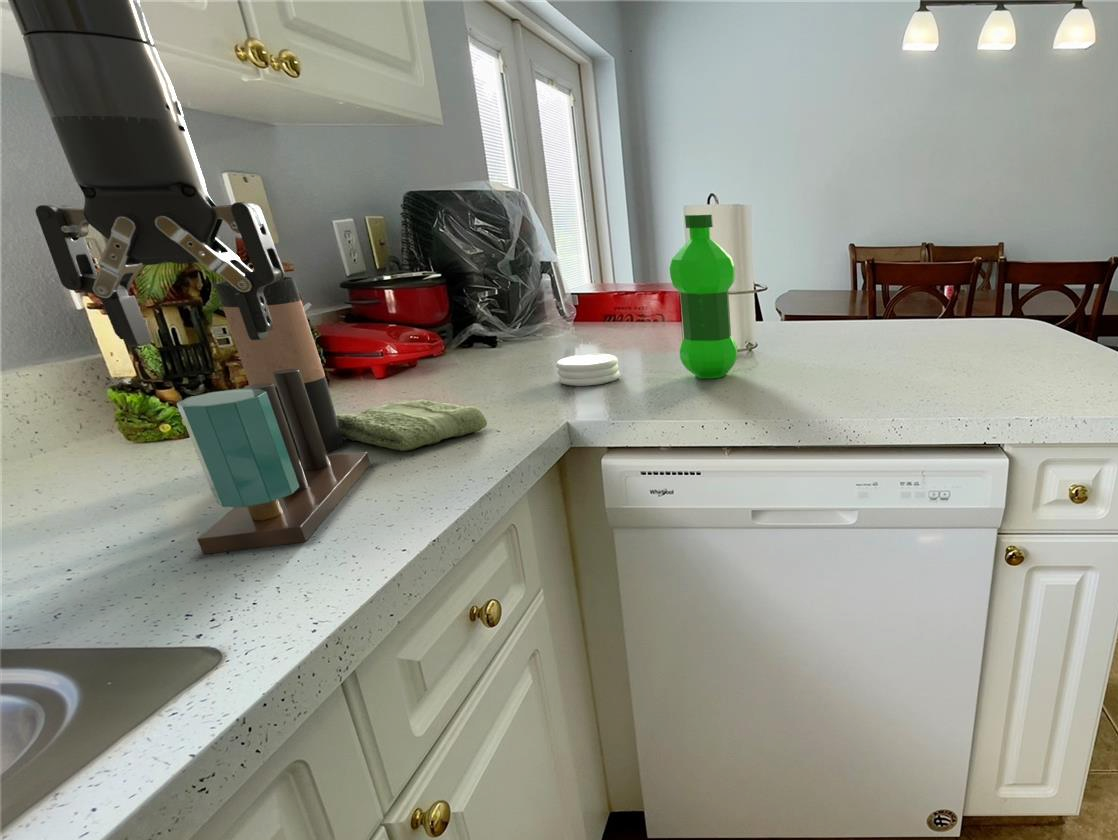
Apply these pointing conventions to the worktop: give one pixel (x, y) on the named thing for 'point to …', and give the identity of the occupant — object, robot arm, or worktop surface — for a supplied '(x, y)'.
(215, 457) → the teal octagonal prism
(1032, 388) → the worktop surface
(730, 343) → the plastic bottle
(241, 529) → the drying rack
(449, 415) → the washcloth
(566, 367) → the white stacked discs
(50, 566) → the worktop surface
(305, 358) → the travel mug
